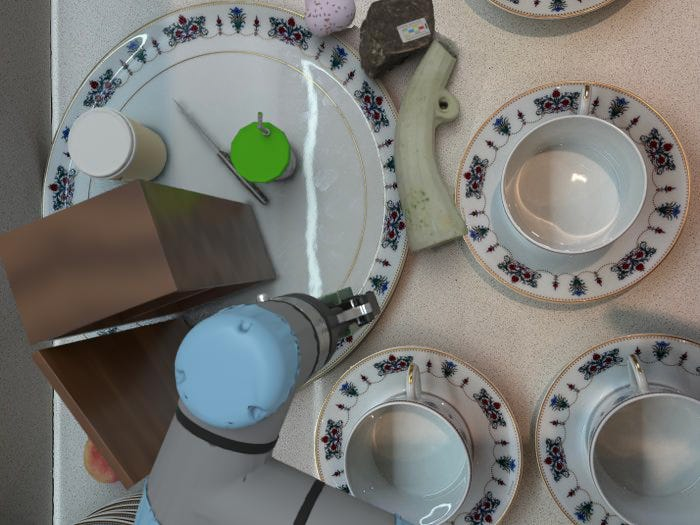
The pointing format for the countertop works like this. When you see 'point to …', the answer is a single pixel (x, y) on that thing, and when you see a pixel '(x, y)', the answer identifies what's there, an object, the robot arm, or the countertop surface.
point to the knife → (231, 164)
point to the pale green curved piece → (426, 153)
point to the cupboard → (130, 259)
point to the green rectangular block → (336, 299)
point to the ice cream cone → (328, 15)
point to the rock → (394, 33)
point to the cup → (262, 153)
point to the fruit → (97, 465)
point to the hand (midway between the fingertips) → (337, 313)
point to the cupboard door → (120, 391)
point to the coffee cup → (115, 147)
